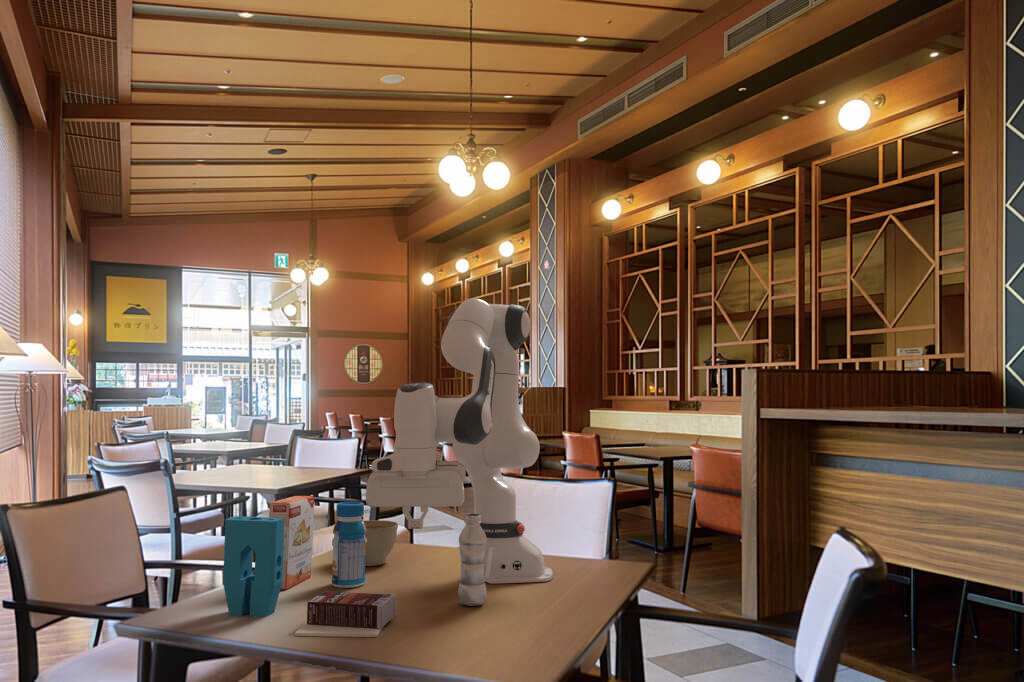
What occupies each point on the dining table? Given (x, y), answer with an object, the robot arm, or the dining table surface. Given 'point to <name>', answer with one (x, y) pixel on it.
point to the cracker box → (295, 537)
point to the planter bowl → (379, 540)
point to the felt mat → (336, 631)
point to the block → (238, 579)
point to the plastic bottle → (472, 562)
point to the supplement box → (351, 609)
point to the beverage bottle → (349, 546)
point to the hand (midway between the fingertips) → (415, 528)
